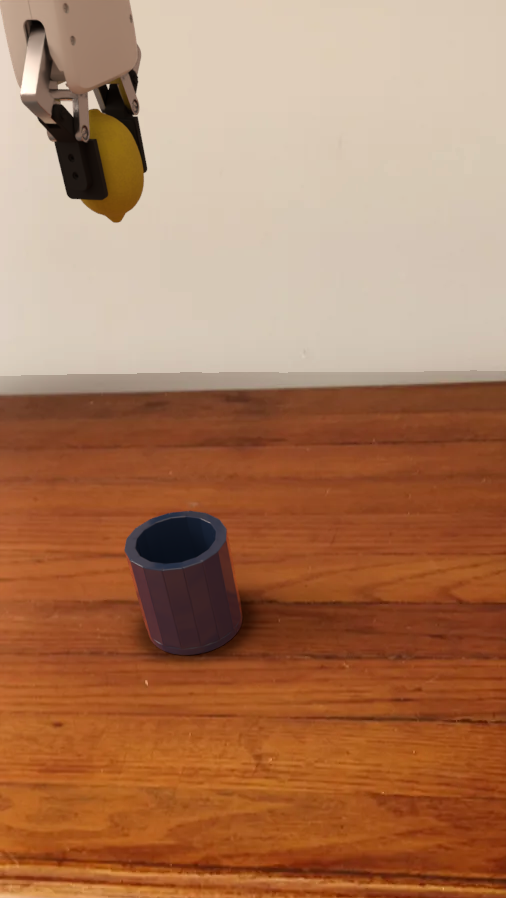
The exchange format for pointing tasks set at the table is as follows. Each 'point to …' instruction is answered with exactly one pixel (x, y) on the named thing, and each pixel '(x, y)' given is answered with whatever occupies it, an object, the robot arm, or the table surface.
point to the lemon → (116, 166)
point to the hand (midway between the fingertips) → (108, 182)
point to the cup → (185, 581)
